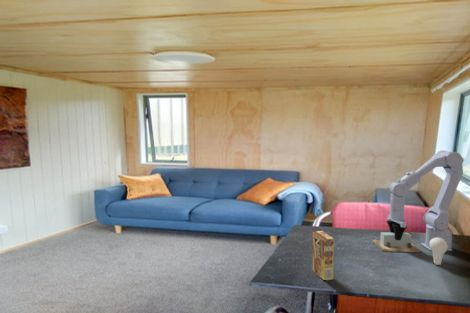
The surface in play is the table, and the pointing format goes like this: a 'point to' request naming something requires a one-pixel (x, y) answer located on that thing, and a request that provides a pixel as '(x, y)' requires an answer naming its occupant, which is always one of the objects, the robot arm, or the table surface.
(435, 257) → the lightbulb
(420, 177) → the robot arm
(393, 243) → the light grey block
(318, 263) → the candy box
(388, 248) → the jig
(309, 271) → the table surface
